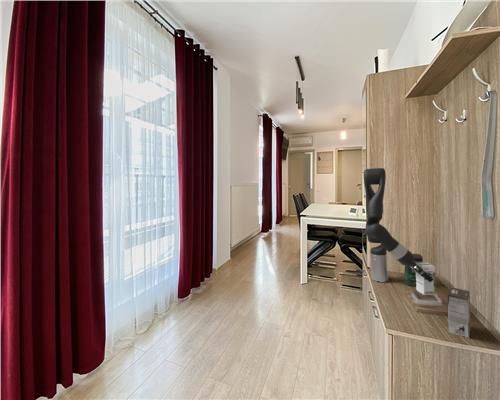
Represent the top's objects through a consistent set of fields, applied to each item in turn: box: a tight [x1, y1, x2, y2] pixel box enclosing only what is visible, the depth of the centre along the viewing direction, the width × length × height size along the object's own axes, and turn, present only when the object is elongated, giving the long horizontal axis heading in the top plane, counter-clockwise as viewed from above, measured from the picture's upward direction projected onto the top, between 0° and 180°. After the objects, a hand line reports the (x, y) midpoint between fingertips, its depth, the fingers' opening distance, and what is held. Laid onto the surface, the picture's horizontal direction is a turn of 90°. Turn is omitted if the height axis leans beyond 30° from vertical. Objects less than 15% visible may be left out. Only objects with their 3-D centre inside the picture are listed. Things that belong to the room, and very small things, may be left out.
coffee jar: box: [403, 253, 424, 287], centre depth 142 cm, size 10×8×19 cm
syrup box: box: [415, 262, 437, 295], centre depth 117 cm, size 6×6×14 cm
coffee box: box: [447, 286, 471, 339], centre depth 97 cm, size 9×6×16 cm
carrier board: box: [405, 290, 448, 316], centre depth 119 cm, size 20×14×2 cm
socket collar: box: [411, 290, 442, 308], centre depth 118 cm, size 10×10×3 cm
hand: (429, 278), depth 117 cm, fingers closed on syrup box, 7 cm apart
